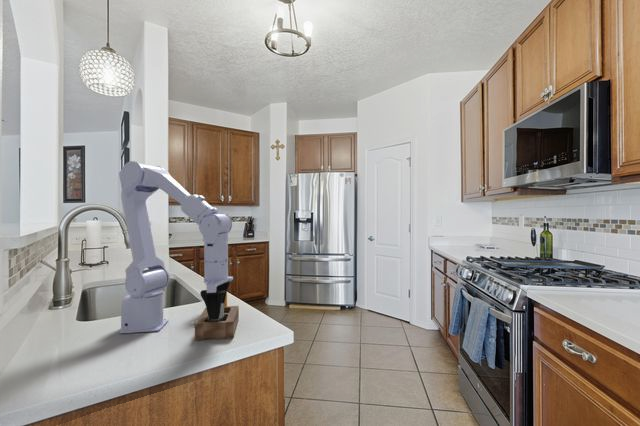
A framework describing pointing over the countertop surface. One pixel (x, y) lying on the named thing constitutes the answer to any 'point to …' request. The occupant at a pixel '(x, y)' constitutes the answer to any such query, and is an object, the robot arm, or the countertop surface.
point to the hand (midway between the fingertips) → (216, 314)
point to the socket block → (217, 325)
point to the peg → (221, 316)
